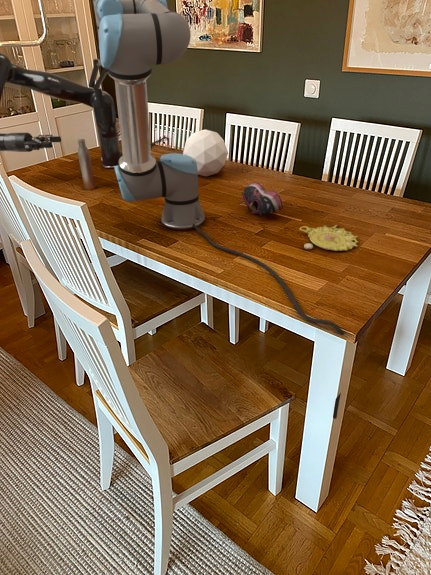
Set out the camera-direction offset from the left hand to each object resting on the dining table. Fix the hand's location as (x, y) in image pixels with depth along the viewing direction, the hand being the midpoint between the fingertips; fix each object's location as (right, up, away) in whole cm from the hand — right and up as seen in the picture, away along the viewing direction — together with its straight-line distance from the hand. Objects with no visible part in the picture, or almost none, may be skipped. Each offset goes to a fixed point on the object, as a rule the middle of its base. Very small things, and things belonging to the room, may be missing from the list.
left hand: (56, 142), depth 180 cm
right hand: (+29, +8, -15) cm, 33 cm away
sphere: (+61, -8, +20) cm, 64 cm away
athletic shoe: (+80, -31, -17) cm, 88 cm away
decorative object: (+101, -44, -38) cm, 117 cm away
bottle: (+11, -17, +9) cm, 22 cm away
